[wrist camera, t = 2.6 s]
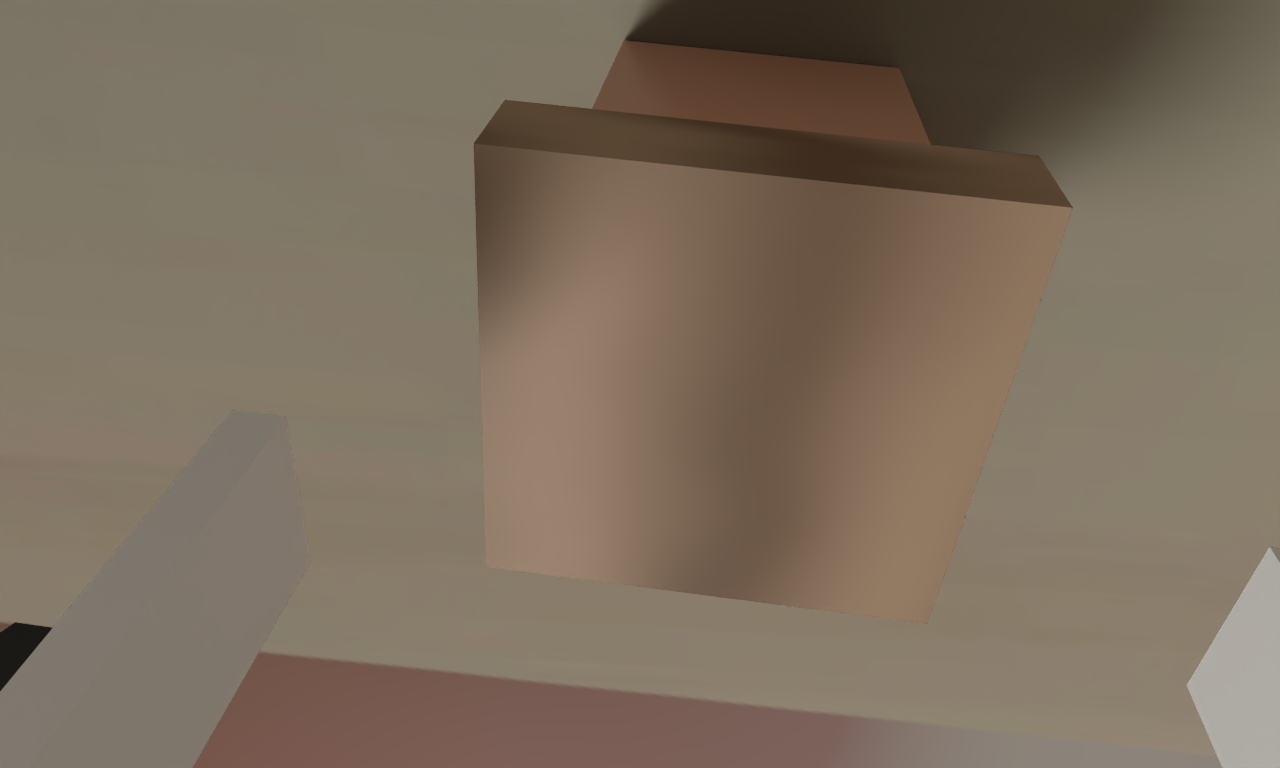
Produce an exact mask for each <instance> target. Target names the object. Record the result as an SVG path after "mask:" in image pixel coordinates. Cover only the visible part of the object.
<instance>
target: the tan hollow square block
mask: <svg viewBox="0 0 1280 768" xmlns="http://www.w3.org/2000/svg"><path fill="white" fill-rule="evenodd" d="M592 109H596V110H606V111H615V112H625V113H635V114H644V115H654V116H663V117H673V118H682V119H692V120H701V121H711V122H721V123H730V124H740V125H749V126H759V127H768V128H778V129H787V130H797V131H806V132H816V133H826V134H835V135H845V136H854V137H864V138H873V139H883V140H892V141H902V142H912V143H921V144H930V141H929V139H928V137H927V134H926V132H925V129H924V127H923V124H922V122H921V120H920V117H919V115H918V112H917V110H916V107H915V105H914V103H913V100H912V98H911V95H910V93H909V90H908V88H907V86H906V83H905V81H904V78H903V76H902V73H901V71H900V69H899V68H893V67H883V66H873V65H864V64H854V63H844V62H834V61H824V60H814V59H804V58H794V57H784V56H774V55H765V54H755V53H745V52H735V51H725V50H715V49H705V48H695V47H685V46H675V45H665V44H656V43H646V42H636V41H626V40H624V41H623V43H622V45H621V47H620V50H619V52H618V54H617V56H616V58H615V60H614V63H613V65H612V67H611V69H610V71H609V73H608V76H607V78H606V80H605V82H604V84H603V86H602V88H601V91H600V93H599V95H598V97H597V99H596V101H595V104H594V106H593V108H592Z"/></svg>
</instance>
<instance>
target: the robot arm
mask: <svg viewBox="0 0 1280 768" xmlns="http://www.w3.org/2000/svg"><path fill="white" fill-rule="evenodd" d="M310 562H311V560H310V554H309V548H308V542H307V536H306V530H305V525H304V519H303V513H302V507H301V501H300V495H299V489H298V483H297V477H296V471H295V465H294V459H293V453H292V448H291V442H290V436H289V430H288V424H287V418H286V417H284V416H276V415H269V414H261V413H254V412H246V411H238V410H232V411H231V412H230V413H229V415H228V416H227V417H226V418H225V420H224V421H223V422H222V423H221V424H220V426H219V427H218V428H217V429H216V430H215V432H214V433H213V434H212V435H211V437H210V438H209V439H208V440H207V441H206V443H205V444H204V445H203V446H202V447H201V449H200V450H199V451H198V452H197V454H196V455H195V456H194V457H193V458H192V460H191V461H190V462H189V463H188V464H187V466H186V467H185V468H184V469H183V471H182V472H181V473H180V474H179V475H178V477H177V478H176V479H175V480H174V481H173V483H172V484H171V485H170V486H169V488H168V489H167V490H166V491H165V492H164V494H163V495H162V496H161V497H160V498H159V500H158V501H157V502H156V503H155V504H154V506H153V507H152V508H151V509H150V511H149V512H148V513H147V514H146V515H145V517H144V518H143V519H142V520H141V521H140V523H139V524H138V525H137V526H136V528H135V529H134V530H133V531H132V532H131V534H130V535H129V536H128V537H127V538H126V540H125V541H124V542H123V543H122V545H121V546H120V547H119V548H118V549H117V551H116V552H115V553H114V554H113V555H112V557H111V558H110V559H109V560H108V562H107V563H106V564H105V565H104V566H103V568H102V569H101V570H100V571H99V572H98V574H97V575H96V576H95V577H94V578H93V580H92V581H91V582H90V583H89V585H88V586H87V587H86V588H85V589H84V591H83V592H82V593H81V594H80V595H79V597H78V598H77V599H76V600H75V602H74V603H73V604H72V605H71V606H70V608H69V609H68V610H67V611H66V612H65V614H64V615H63V616H62V617H61V619H60V620H59V621H58V622H57V623H56V625H55V626H54V627H53V628H50V627H43V626H36V625H29V624H23V623H16V622H15V623H14V624H12V625H11V626H9V627H8V628H7V629H5V630H4V631H2V632H0V768H192V767H193V765H194V764H195V762H196V760H197V758H198V757H199V755H200V753H201V751H202V750H203V748H204V746H205V745H206V743H207V741H208V739H209V738H210V736H211V734H212V732H213V731H214V729H215V727H216V725H217V724H218V722H219V720H220V718H221V717H222V715H223V713H224V711H225V710H226V708H227V706H228V705H229V703H230V701H231V699H232V698H233V696H234V694H235V692H236V691H237V689H238V687H239V685H240V684H241V682H242V680H243V678H244V677H245V675H246V673H247V671H248V670H249V668H250V666H251V665H252V663H253V661H254V659H255V658H256V656H257V654H258V652H259V651H260V649H261V647H262V645H263V644H264V642H265V640H266V639H267V637H268V635H269V633H270V632H271V630H272V628H273V626H274V625H275V623H276V621H277V619H278V618H279V616H280V614H281V612H282V611H283V609H284V607H285V605H286V604H287V602H288V600H289V599H290V597H291V595H292V593H293V592H294V590H295V588H296V586H297V585H298V583H299V581H300V579H301V578H302V576H303V574H304V572H305V571H306V569H307V567H308V566H309V564H310ZM1187 687H1188V690H1189V692H1190V694H1191V697H1192V699H1193V701H1194V703H1195V706H1196V708H1197V710H1198V713H1199V715H1200V717H1201V720H1202V722H1203V724H1204V727H1205V729H1206V731H1207V734H1208V736H1209V738H1210V740H1211V743H1212V745H1213V747H1214V750H1215V752H1216V754H1217V757H1218V759H1219V761H1220V763H1221V766H1222V768H1280V548H1276V547H1269V549H1268V550H1267V552H1266V554H1265V555H1264V557H1263V559H1262V560H1261V562H1260V564H1259V565H1258V567H1257V569H1256V570H1255V572H1254V574H1253V575H1252V577H1251V579H1250V580H1249V582H1248V584H1247V585H1246V587H1245V589H1244V591H1243V592H1242V594H1241V596H1240V597H1239V599H1238V601H1237V602H1236V604H1235V606H1234V607H1233V609H1232V611H1231V612H1230V614H1229V616H1228V617H1227V619H1226V621H1225V622H1224V624H1223V626H1222V627H1221V629H1220V631H1219V632H1218V634H1217V636H1216V637H1215V639H1214V641H1213V642H1212V644H1211V646H1210V647H1209V649H1208V651H1207V652H1206V654H1205V656H1204V657H1203V659H1202V661H1201V662H1200V664H1199V666H1198V667H1197V669H1196V671H1195V672H1194V674H1193V676H1192V677H1191V679H1190V681H1189V682H1188V684H1187Z"/></svg>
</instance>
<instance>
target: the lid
mask: <svg viewBox="0 0 1280 768" xmlns="http://www.w3.org/2000/svg"><path fill="white" fill-rule="evenodd" d="M474 170H475V205H476V240H477V274H478V309H479V344H480V379H481V414H482V449H483V484H484V518H485V553H486V567H491V568H498V569H506V570H514V571H522V572H530V573H537V574H545V575H553V576H561V577H568V578H576V579H584V580H592V581H599V582H607V583H615V584H623V585H630V586H638V587H646V588H654V589H661V590H669V591H677V592H685V593H692V594H700V595H708V596H716V597H723V598H731V599H739V600H747V601H754V602H762V603H770V604H778V605H786V606H793V607H801V608H809V609H817V610H824V611H832V612H840V613H848V614H855V615H863V616H871V617H879V618H886V619H894V620H902V621H910V622H917V623H925V624H928V621H929V618H930V615H931V612H932V610H933V607H934V604H935V601H936V598H937V595H938V592H939V590H940V587H941V584H942V581H943V578H944V575H945V572H946V569H947V567H948V564H949V561H950V558H951V555H952V552H953V549H954V547H955V544H956V541H957V538H958V535H959V532H960V529H961V527H962V524H963V521H964V518H965V515H966V512H967V509H968V507H969V504H970V501H971V498H972V495H973V492H974V489H975V487H976V484H977V481H978V478H979V475H980V472H981V469H982V467H983V464H984V461H985V458H986V455H987V452H988V449H989V446H990V444H991V441H992V438H993V435H994V432H995V429H996V426H997V424H998V421H999V418H1000V415H1001V412H1002V409H1003V406H1004V404H1005V401H1006V398H1007V395H1008V392H1009V389H1010V386H1011V384H1012V381H1013V378H1014V375H1015V372H1016V369H1017V366H1018V364H1019V361H1020V358H1021V355H1022V352H1023V349H1024V346H1025V343H1026V341H1027V338H1028V335H1029V332H1030V329H1031V326H1032V323H1033V321H1034V318H1035V315H1036V312H1037V309H1038V306H1039V303H1040V301H1041V298H1042V295H1043V292H1044V289H1045V286H1046V283H1047V281H1048V278H1049V275H1050V272H1051V269H1052V266H1053V263H1054V261H1055V258H1056V255H1057V252H1058V249H1059V246H1060V243H1061V241H1062V238H1063V235H1064V232H1065V229H1066V226H1067V223H1068V220H1069V218H1070V215H1071V212H1072V209H1073V207H1072V206H1071V204H1070V203H1069V201H1068V200H1067V198H1066V197H1065V195H1064V194H1063V192H1062V191H1061V189H1060V187H1059V186H1058V184H1057V183H1056V181H1055V180H1054V178H1053V177H1052V175H1051V174H1050V172H1049V171H1048V169H1047V168H1046V166H1045V165H1044V163H1043V162H1042V160H1041V159H1040V157H1039V156H1036V155H1026V154H1017V153H1007V152H998V151H988V150H978V149H969V148H959V147H950V146H940V145H931V144H921V143H912V142H902V141H892V140H883V139H873V138H864V137H854V136H845V135H835V134H826V133H816V132H806V131H797V130H787V129H778V128H768V127H759V126H749V125H740V124H730V123H721V122H711V121H701V120H692V119H682V118H673V117H663V116H654V115H644V114H635V113H625V112H615V111H606V110H596V109H587V108H577V107H568V106H558V105H549V104H539V103H529V102H520V101H510V100H505V101H504V102H503V104H502V105H501V106H500V108H499V109H498V110H497V112H496V113H495V115H494V116H493V117H492V119H491V120H490V122H489V123H488V124H487V126H486V127H485V129H484V130H483V131H482V133H481V134H480V136H479V137H478V138H477V140H476V141H475V143H474Z"/></svg>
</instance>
